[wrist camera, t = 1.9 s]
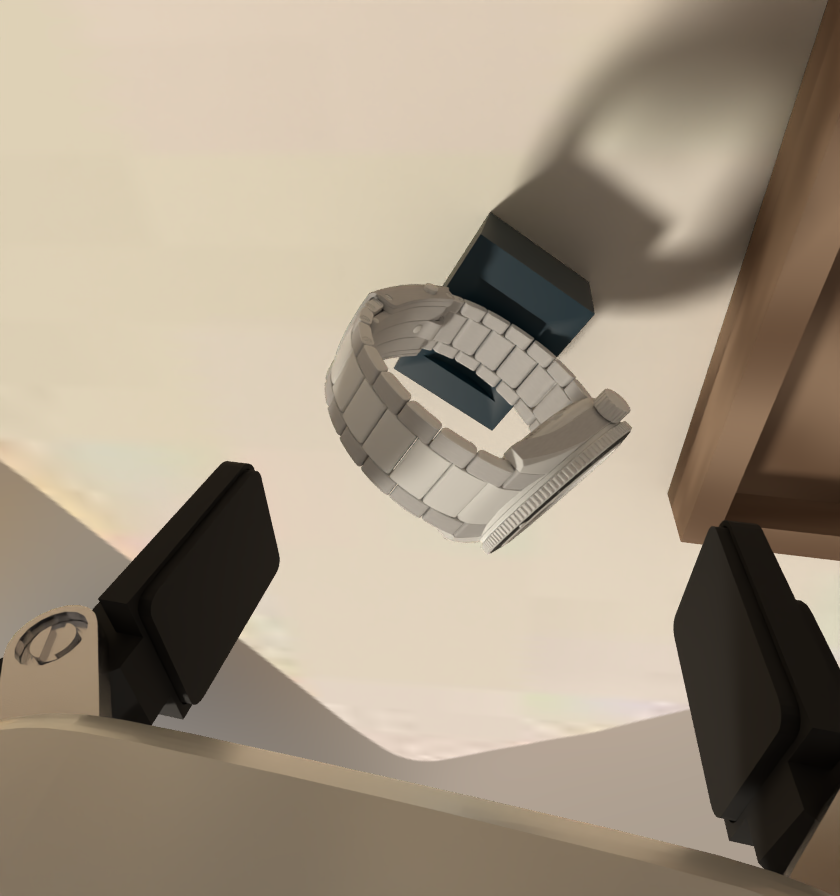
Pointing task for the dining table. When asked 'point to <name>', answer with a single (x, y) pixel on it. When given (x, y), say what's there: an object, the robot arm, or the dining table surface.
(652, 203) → the dining table surface
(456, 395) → the watch
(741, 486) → the tray
